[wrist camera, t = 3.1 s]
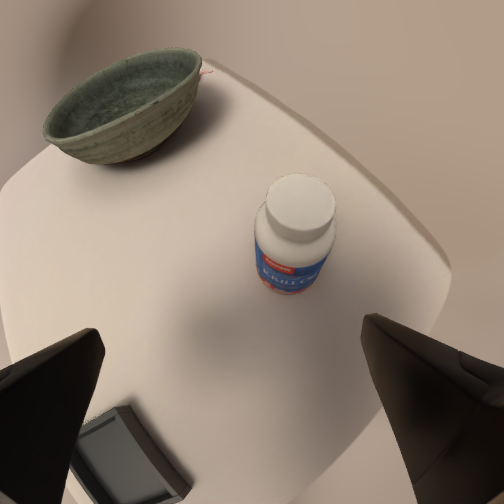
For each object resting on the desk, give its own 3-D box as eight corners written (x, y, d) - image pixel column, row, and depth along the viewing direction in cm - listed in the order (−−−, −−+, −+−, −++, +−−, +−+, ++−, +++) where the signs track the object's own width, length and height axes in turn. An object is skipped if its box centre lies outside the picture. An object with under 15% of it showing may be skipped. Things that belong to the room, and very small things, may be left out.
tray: (192, 488, 15) (183, 500, 13) (121, 513, 13) (109, 522, 11) (129, 405, 19) (114, 406, 16) (69, 438, 17) (53, 441, 14)
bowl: (89, 230, 27) (38, 175, 18) (71, 143, 35) (45, 99, 26) (244, 141, 31) (236, 69, 22) (179, 84, 39) (167, 35, 30)
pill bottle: (255, 295, 23) (248, 241, 14) (257, 238, 25) (251, 163, 16) (320, 295, 22) (353, 242, 14) (317, 239, 25) (339, 166, 16)
